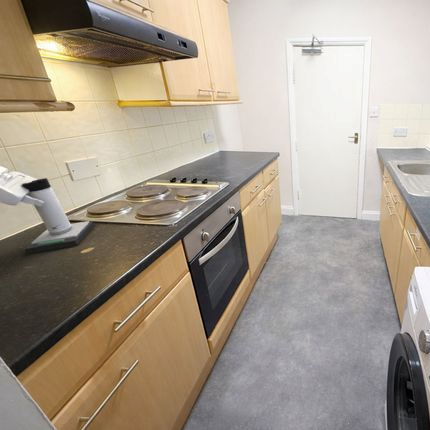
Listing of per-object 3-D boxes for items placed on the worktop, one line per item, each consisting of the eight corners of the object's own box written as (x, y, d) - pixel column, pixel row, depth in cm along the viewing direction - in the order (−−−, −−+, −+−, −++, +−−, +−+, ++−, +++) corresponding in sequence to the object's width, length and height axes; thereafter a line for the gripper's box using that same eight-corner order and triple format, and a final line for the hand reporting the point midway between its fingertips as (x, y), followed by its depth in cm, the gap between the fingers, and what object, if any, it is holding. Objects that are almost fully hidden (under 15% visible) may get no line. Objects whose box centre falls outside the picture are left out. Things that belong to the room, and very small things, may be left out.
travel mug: (60, 236, 94) (31, 182, 85) (45, 234, 95) (15, 182, 86) (77, 227, 100) (52, 176, 91) (63, 226, 101) (36, 176, 92)
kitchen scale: (27, 254, 89) (23, 247, 88) (51, 232, 102) (48, 226, 101) (77, 245, 93) (74, 238, 92) (94, 225, 107) (92, 219, 106)
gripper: (0, 177, 92) (50, 197, 100) (-32, 195, 76) (31, 217, 84) (11, 162, 92) (60, 184, 100) (-19, 177, 76) (43, 201, 84)
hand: (47, 199), depth 92 cm, fingers open, 8 cm apart
